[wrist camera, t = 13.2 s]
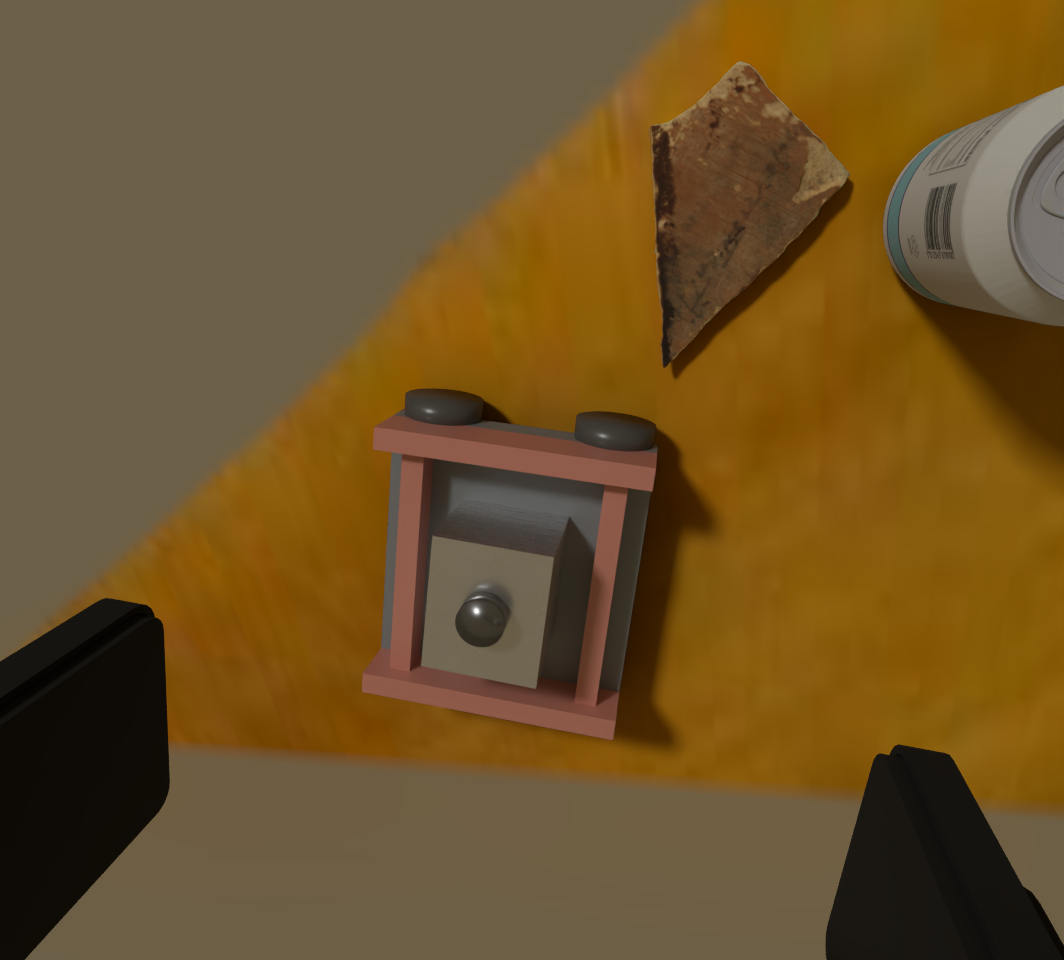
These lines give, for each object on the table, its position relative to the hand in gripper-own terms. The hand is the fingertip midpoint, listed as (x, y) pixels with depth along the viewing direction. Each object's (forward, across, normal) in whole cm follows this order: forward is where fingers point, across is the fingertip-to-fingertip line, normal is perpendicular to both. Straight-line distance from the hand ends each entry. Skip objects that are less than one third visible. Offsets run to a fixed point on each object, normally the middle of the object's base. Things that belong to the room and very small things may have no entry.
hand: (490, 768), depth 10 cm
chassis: (+28, +4, +8) cm, 30 cm away
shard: (+29, -4, -8) cm, 30 cm away
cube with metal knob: (+25, +4, +8) cm, 27 cm away
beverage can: (+28, -13, -9) cm, 33 cm away
